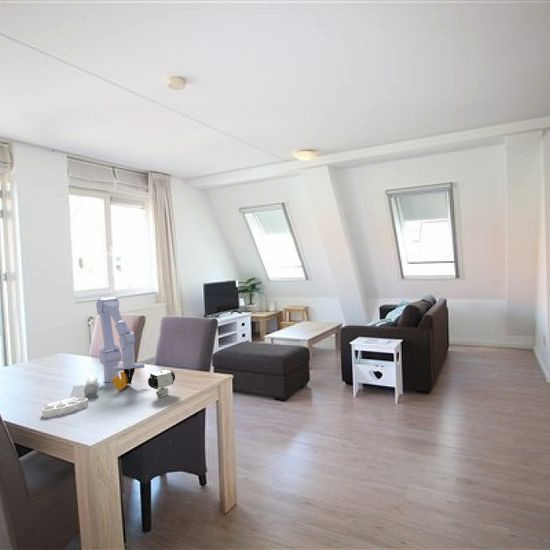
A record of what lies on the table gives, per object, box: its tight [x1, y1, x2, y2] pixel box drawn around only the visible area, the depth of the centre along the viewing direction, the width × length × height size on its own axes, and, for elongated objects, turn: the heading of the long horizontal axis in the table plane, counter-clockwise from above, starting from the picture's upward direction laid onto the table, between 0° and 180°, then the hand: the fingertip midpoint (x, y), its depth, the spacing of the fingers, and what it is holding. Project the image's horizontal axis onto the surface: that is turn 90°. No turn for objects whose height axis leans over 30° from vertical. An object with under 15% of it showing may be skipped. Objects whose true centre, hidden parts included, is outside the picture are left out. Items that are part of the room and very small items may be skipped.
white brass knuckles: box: [41, 397, 89, 418], centre depth 175 cm, size 3×18×15 cm
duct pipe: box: [69, 375, 100, 400], centre depth 196 cm, size 22×12×6 cm, turn 22°
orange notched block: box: [112, 370, 130, 392], centre depth 201 cm, size 12×4×6 cm, turn 179°
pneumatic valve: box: [147, 369, 176, 398], centre depth 187 cm, size 6×12×12 cm, turn 138°
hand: (130, 383), depth 204 cm, fingers closed
